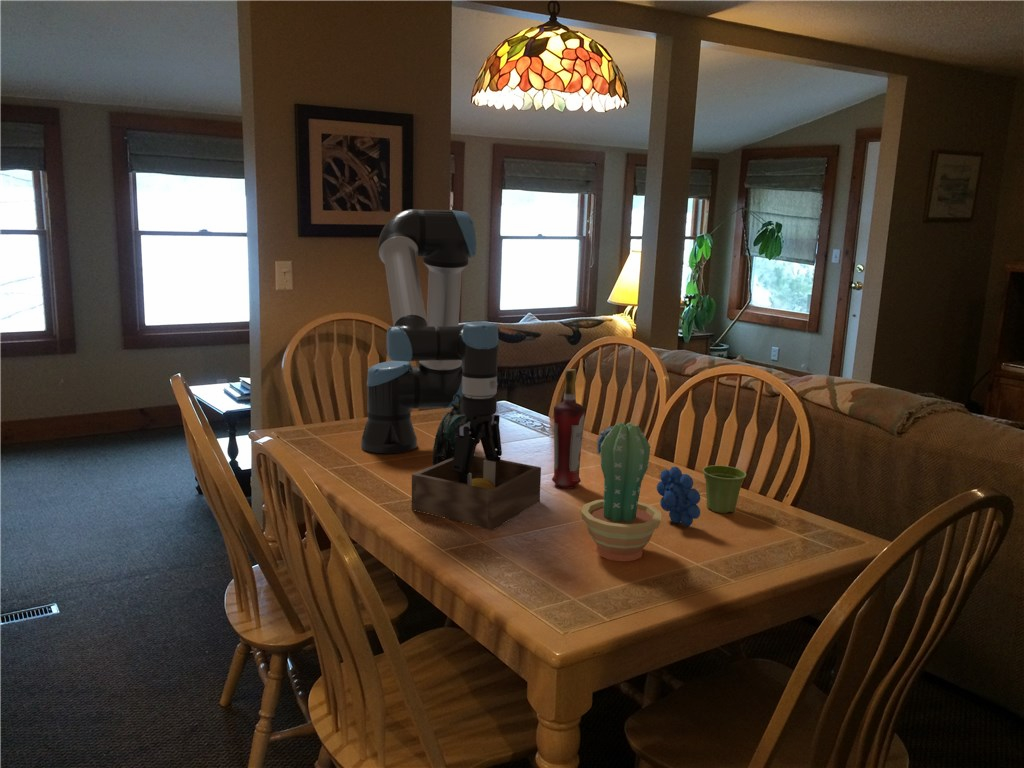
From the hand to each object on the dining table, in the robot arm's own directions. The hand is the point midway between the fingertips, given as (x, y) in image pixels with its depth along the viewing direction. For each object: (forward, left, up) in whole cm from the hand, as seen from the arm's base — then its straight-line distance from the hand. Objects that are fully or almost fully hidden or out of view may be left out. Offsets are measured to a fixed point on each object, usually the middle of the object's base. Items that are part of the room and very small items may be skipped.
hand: (477, 495), depth 176 cm
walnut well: (0, 0, -2) cm, 2 cm away
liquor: (+10, +24, -3) cm, 26 cm away
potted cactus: (+36, -6, -3) cm, 37 cm away
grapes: (+40, +14, -3) cm, 43 cm away
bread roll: (+1, 0, -1) cm, 1 cm away
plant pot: (+46, +29, -3) cm, 54 cm away
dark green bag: (-16, +15, -3) cm, 22 cm away
